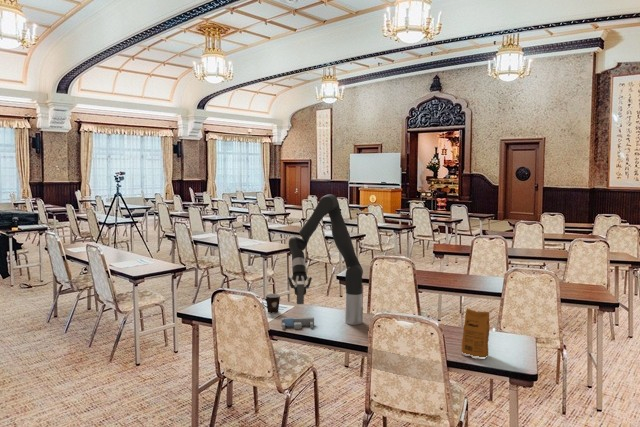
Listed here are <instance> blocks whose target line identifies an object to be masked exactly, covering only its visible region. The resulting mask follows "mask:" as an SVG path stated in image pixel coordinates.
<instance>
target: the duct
mask: <svg viewBox="0 0 640 427" xmlns="http://www.w3.org/2000/svg"><path fill="white" fill-rule="evenodd" d="M280 323H281V327H282V328H281V329H282V330H286V327H285V326H287V327H293V329H294V330H301V329H302V327H304V326H309V327H310V329H314V326H315V317H313V316H311V317H309V316H308V317H285V318H284V317H282V318H281V322H280Z"/></svg>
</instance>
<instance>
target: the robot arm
mask: <svg viewBox="0 0 640 427" xmlns="http://www.w3.org/2000/svg"><path fill="white" fill-rule="evenodd" d="M340 207H341V206H340V203H339V200H338V198H337V196H336V195H334V194H331V193H330V194H326V195H324V196H322V197H321V198H320V199H319V200H318V203H317V205H316V206H315V208H314V210H313V212H312V214H311V215H310V216H309V218H308V219H307V221H306V222H305V223H304V225H303V226H302V227H301V229H300V230H299V233H298V234H299V236H300V237H301V238H300V237H297V236H291V237H290V238H289V240H288V248H289V251H290V255H291V260H292V262H291V268H292V277H287V282H288V284H289V286H290V288H291V289H293V291H294V295H296V296H297V281H304V296H306V294H307V289H310V286H311V283H312V280H313V278H312V277H311V276H310V277H308V276H307V267H306V265H307V264H306V260H305V253H304V250H306V248H307V246H308V243H309V241H310V238H311V236H312V235H313V234H314V233H315V231H316V230H317V228H318V226H319V224H320V222H321V221H322V220H323V218H324V217H325V216H326V215H327V214H328V217H329V219H330V224H331V235H332V238H333V242H334V243H335V246H336V248H337V250H338V252H339V253H340V255H341V256H342V258H343V260H344V264H345V268H346V270H345V316H344V317H345V320H344V321H345V323H346V324H347V325H352V326H355V325H361V324H363V323H364V322H363V318H364V316H363V314H364V312H363V310H364V307H363V275H364V270H363V267H362V265H361V263H360V261H359V259H358V257H357V255H356V252H355V248H354V245H353V241H352V237H351V235H350V233H349V230H348V228H347V224H346V223H345V221H344V220H345V219H344V217H343V214H342V211H341V208H340ZM293 281H294V283H293ZM306 282H307V284H306Z"/></svg>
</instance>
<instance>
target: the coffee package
mask: <svg viewBox="0 0 640 427" xmlns="http://www.w3.org/2000/svg"><path fill="white" fill-rule="evenodd" d="M465 310H466V311H465V315H464V316H465V317H464V325H463V329H462V330H463V332H462V339H461V351H462V352H463V353H466V354H470V355H473V356H479V357H486V356H489V338H490V337H489V336H490V311H476V310H473V309H471V308H466V309H465Z"/></svg>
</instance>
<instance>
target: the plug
mask: <svg viewBox="0 0 640 427" xmlns="http://www.w3.org/2000/svg"><path fill="white" fill-rule="evenodd" d="M304 304H305V295H304V281H297V295H296V305H304Z"/></svg>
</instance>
